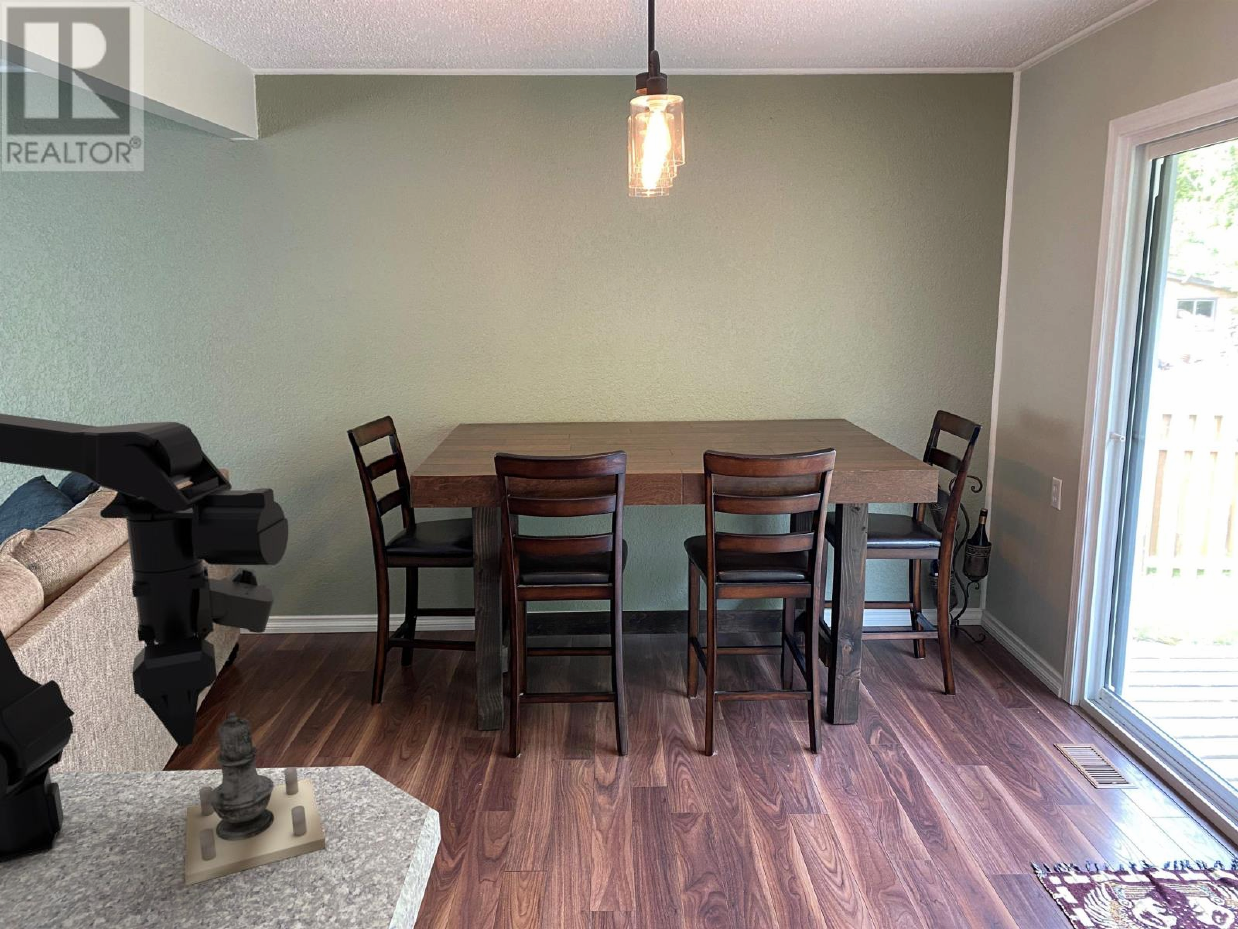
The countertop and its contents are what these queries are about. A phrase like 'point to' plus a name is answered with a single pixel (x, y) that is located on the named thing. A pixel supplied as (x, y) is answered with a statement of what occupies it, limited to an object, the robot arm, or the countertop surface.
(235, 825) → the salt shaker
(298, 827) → the pin board
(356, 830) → the countertop surface
